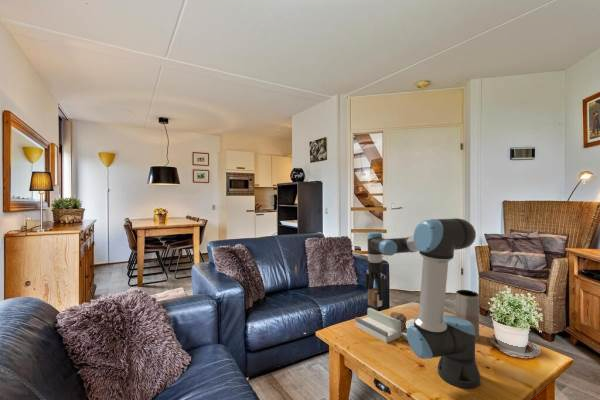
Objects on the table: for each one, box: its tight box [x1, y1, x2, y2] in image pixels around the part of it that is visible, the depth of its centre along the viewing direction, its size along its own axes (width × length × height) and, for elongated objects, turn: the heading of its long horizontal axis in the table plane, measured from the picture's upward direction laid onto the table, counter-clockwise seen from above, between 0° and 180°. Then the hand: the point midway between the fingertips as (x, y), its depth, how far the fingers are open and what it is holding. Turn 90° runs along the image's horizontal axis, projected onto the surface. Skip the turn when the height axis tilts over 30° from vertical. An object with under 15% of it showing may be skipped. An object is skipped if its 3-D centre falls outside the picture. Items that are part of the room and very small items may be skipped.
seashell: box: [389, 311, 408, 332], centre depth 160 cm, size 10×9×10 cm
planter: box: [455, 289, 480, 342], centre depth 147 cm, size 10×10×23 cm
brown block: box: [367, 287, 384, 309], centre depth 153 cm, size 5×7×8 cm
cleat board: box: [354, 307, 402, 344], centre depth 155 cm, size 22×12×8 cm, turn 32°
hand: (375, 304), depth 153 cm, fingers closed on brown block, 5 cm apart
